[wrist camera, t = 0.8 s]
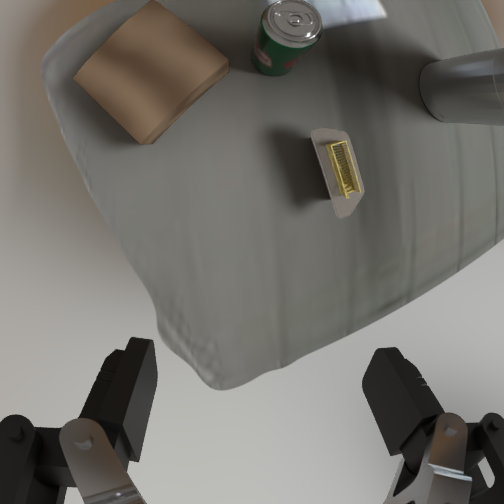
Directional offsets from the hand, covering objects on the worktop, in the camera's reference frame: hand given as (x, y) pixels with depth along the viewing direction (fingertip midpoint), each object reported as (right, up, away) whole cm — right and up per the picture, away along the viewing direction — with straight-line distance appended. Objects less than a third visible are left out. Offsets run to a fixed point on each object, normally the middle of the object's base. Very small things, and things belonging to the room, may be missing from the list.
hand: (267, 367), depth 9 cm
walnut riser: (-12, +24, +18) cm, 32 cm away
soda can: (+2, +26, +18) cm, 32 cm away
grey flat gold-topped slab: (+8, +14, +24) cm, 29 cm away
